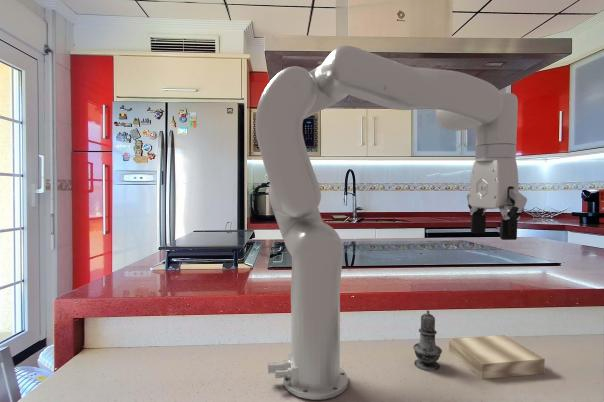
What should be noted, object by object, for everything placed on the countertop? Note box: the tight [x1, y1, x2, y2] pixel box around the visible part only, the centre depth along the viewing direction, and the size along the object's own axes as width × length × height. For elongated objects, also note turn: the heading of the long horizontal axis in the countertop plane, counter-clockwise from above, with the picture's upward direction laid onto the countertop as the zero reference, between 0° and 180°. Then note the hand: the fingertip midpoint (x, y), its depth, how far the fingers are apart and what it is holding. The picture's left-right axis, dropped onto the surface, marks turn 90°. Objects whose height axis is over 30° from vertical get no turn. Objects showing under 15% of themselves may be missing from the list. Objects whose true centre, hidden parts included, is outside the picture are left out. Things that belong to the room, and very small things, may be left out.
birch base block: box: [448, 334, 546, 380], centre depth 80 cm, size 14×12×3 cm
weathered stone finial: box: [412, 309, 443, 372], centre depth 79 cm, size 6×6×12 cm
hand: (492, 236), depth 78 cm, fingers open, 9 cm apart
